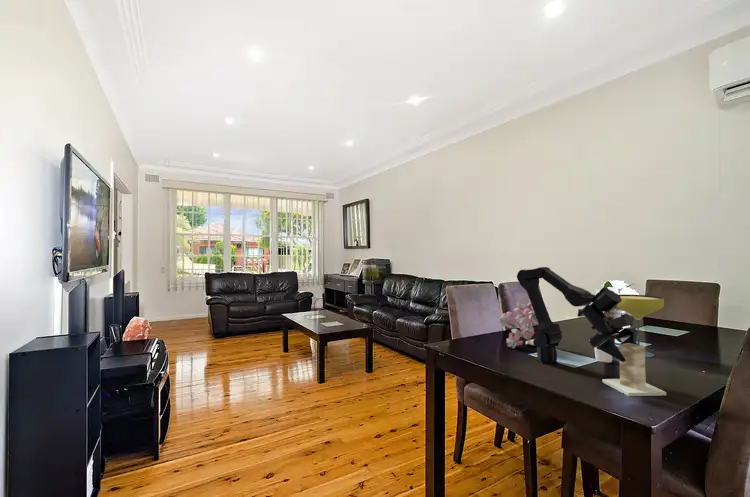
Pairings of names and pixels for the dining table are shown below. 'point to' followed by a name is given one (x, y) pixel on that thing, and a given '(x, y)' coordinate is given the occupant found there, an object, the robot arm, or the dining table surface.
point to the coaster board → (629, 391)
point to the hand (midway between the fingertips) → (633, 359)
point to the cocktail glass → (640, 308)
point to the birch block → (632, 366)
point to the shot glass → (602, 356)
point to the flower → (526, 330)
